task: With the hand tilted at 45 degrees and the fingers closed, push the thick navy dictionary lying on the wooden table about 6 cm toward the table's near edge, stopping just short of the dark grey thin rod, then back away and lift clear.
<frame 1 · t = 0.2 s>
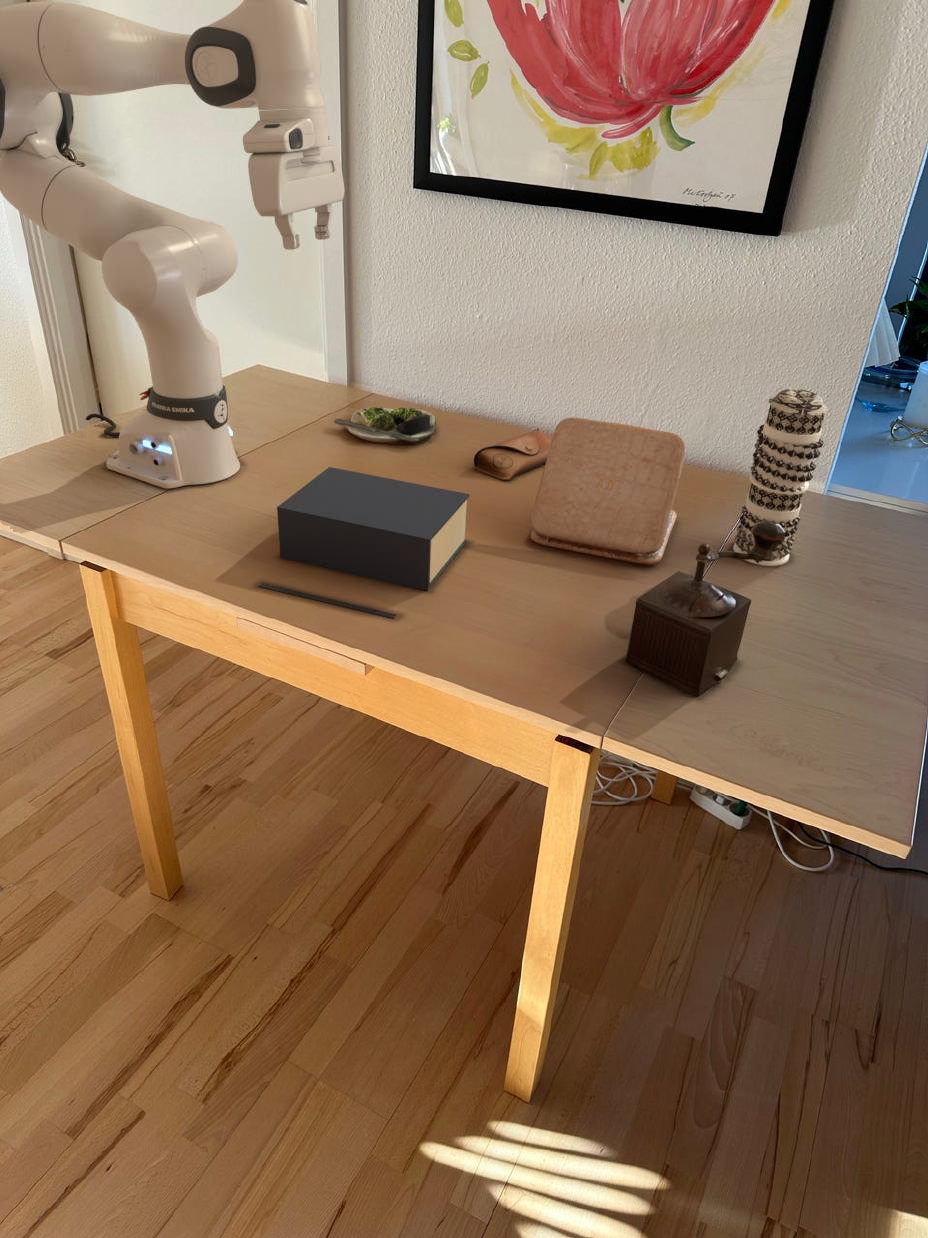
hand: (308, 243, 129), 39 cm above the table, tool pointing down, fingers open, 8 cm apart
salad plate: (394, 432, 175), on the table
dark grey thin rod: (326, 600, 121), on the table
sunglasses case: (521, 463, 165), on the table
white patterned cylinder: (760, 554, 139), on the table
case: (604, 531, 143), on the table
manual coffee grinder: (692, 656, 114), on the table
dictionary: (375, 549, 134), on the table
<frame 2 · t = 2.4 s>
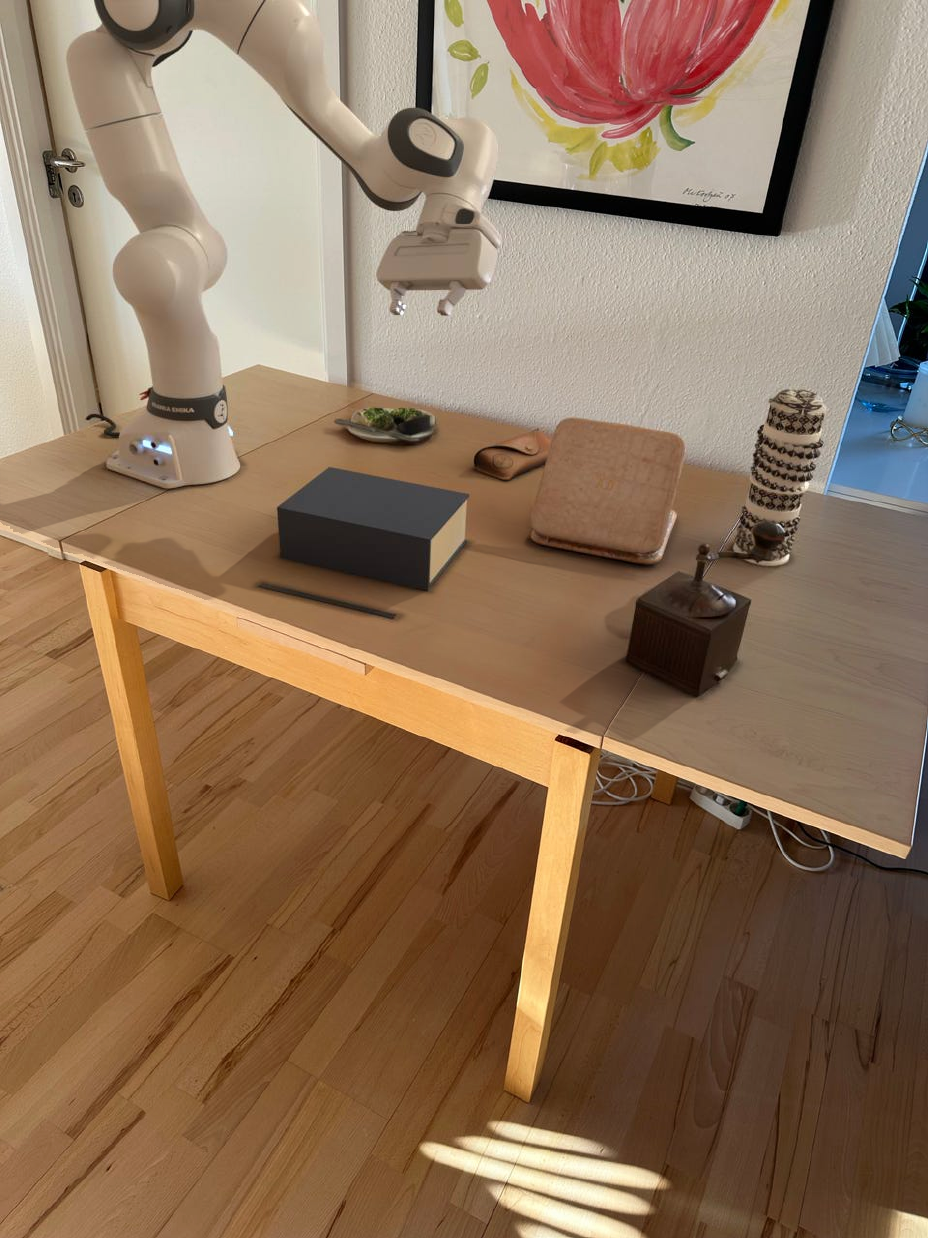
hand: (418, 313, 135), 30 cm above the table, tool tilted 40°, fingers open, 8 cm apart
nothing on the table moved.
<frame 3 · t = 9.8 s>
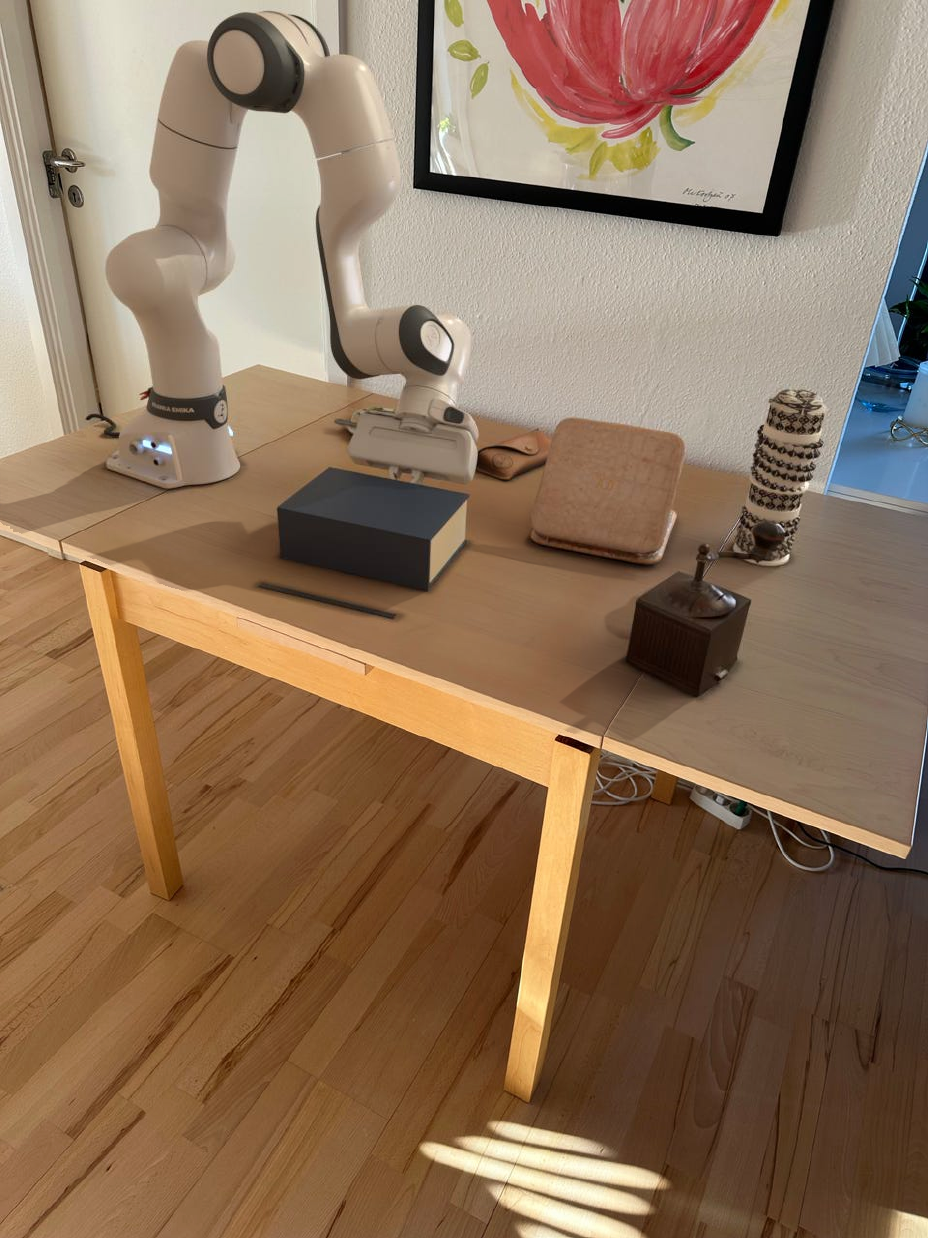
hand: (399, 498, 138), 5 cm above the table, tool tilted 45°, fingers closed, pressing on dictionary
dictionary: (376, 549, 134), on the table, touching gripper
everything else where it was.
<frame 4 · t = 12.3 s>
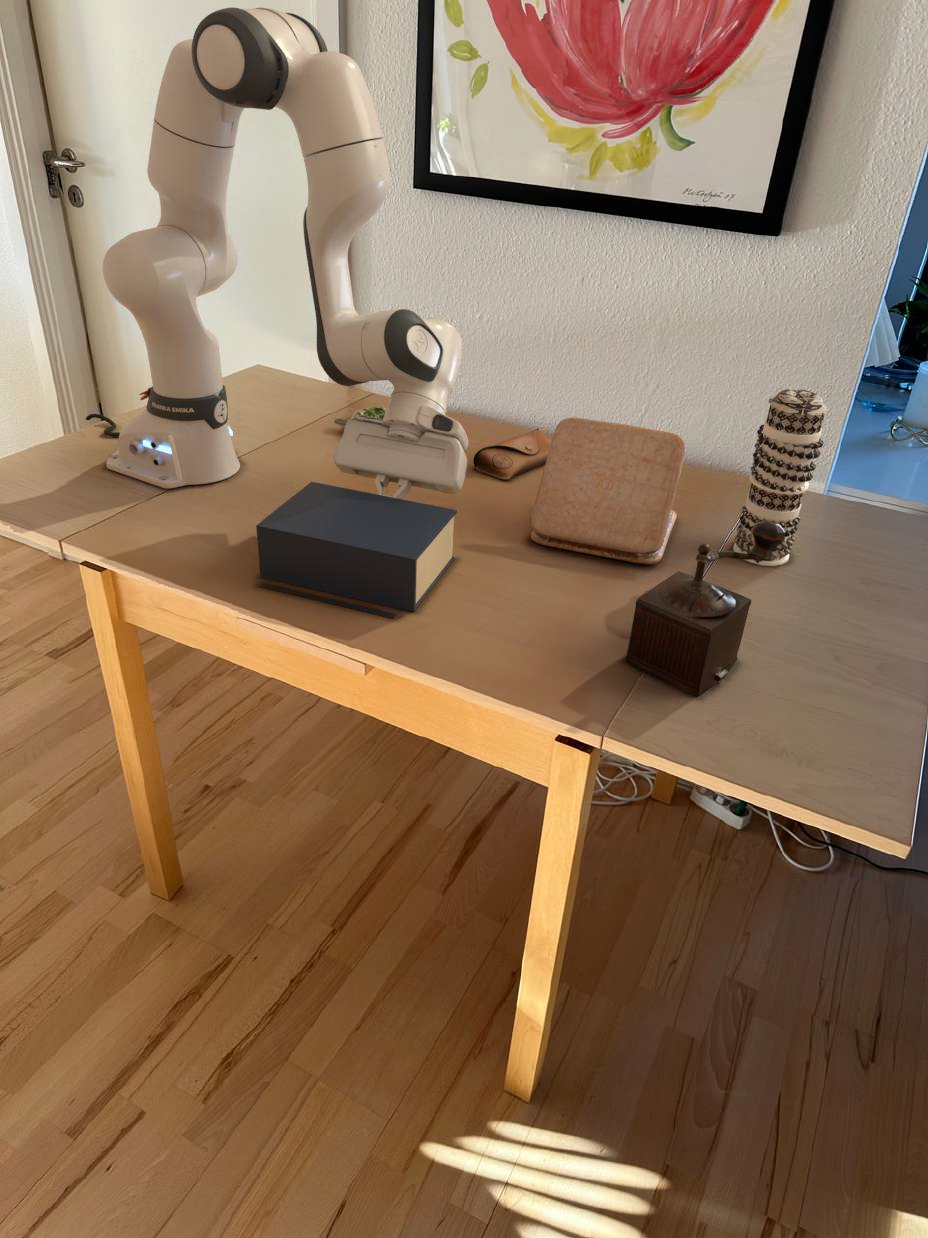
hand: (385, 507, 134), 5 cm above the table, tool tilted 45°, fingers closed
dictionary: (360, 568, 129), on the table
everything else where it was.
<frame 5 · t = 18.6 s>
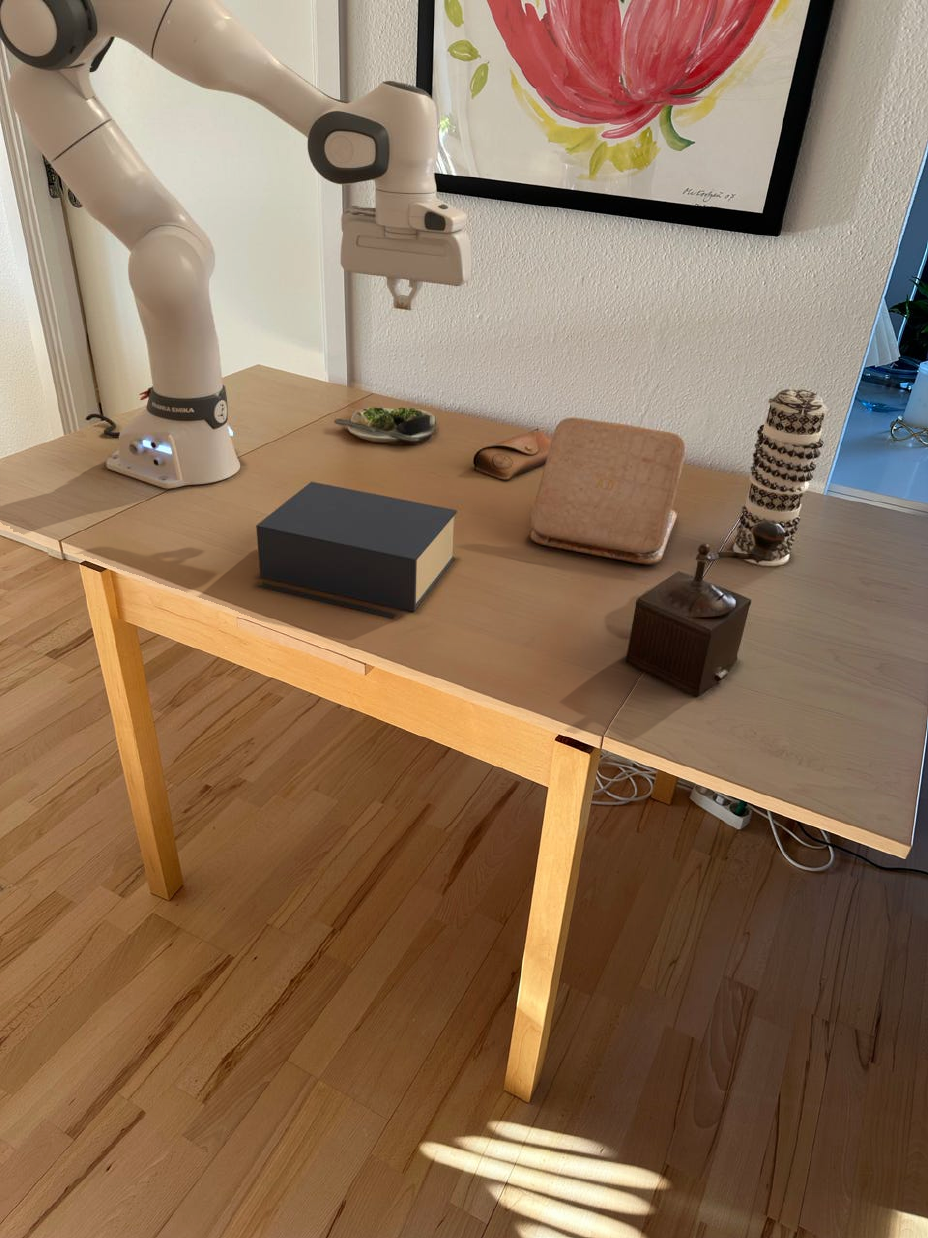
hand: (404, 308, 139), 29 cm above the table, tool pointing down, fingers closed
nothing on the table moved.
at the end: dictionary inside the target area (0.9 cm from its centre), on the table; dictionary tilted 0°; dictionary moved 6.1 cm from its start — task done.
